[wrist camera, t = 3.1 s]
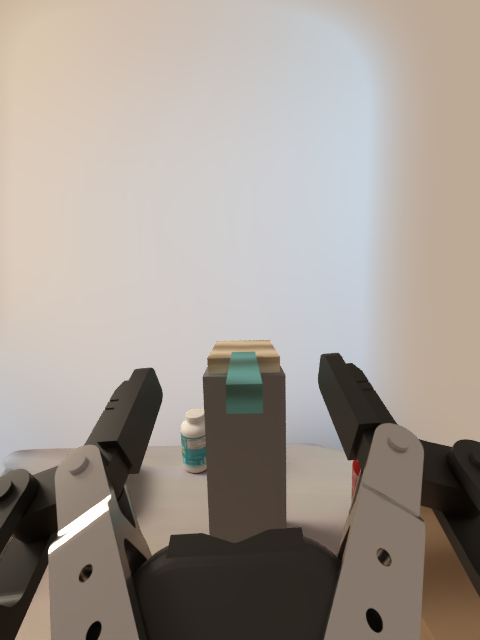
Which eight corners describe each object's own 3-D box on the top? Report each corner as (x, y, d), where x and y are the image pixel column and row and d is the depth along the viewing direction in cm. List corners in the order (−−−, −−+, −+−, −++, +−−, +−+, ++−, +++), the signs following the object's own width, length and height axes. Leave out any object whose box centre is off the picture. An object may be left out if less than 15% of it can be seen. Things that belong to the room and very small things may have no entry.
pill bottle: (186, 454, 62) (183, 405, 60) (213, 452, 62) (211, 404, 60) (179, 475, 54) (176, 421, 53) (211, 474, 54) (208, 419, 53)
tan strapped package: (299, 412, 19) (299, 383, 19) (190, 414, 19) (188, 385, 19) (269, 351, 40) (269, 337, 39) (217, 352, 40) (217, 338, 40)
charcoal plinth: (286, 605, 31) (285, 375, 28) (212, 606, 31) (202, 376, 28) (274, 519, 43) (272, 351, 40) (220, 520, 43) (214, 352, 40)
